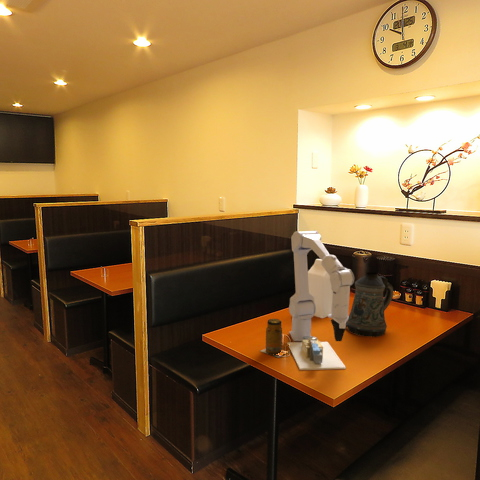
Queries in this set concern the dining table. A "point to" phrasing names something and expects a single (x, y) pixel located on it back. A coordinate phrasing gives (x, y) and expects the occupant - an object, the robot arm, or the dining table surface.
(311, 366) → the board
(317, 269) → the milk
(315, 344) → the lever
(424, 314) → the dining table surface
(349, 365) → the dining table surface
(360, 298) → the beer stein
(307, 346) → the valve
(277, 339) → the condiment
